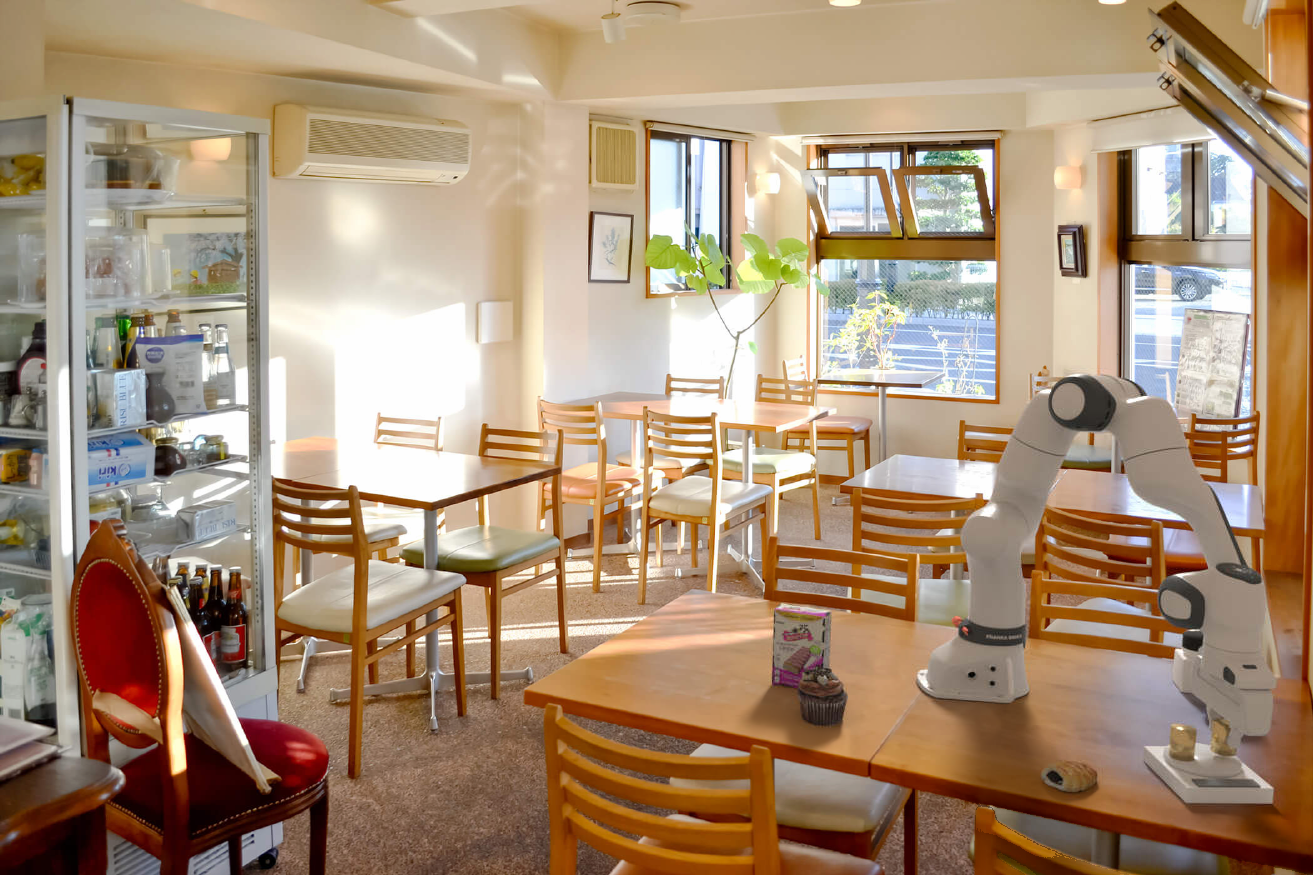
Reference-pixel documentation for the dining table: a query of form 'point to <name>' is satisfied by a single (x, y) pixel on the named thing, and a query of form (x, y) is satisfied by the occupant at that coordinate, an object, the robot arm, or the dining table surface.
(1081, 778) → the pastry
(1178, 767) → the scale
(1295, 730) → the dining table surface
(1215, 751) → the cylinder
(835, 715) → the cupcake
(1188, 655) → the medicine bottle
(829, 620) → the candy bar box
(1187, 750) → the cylinder
